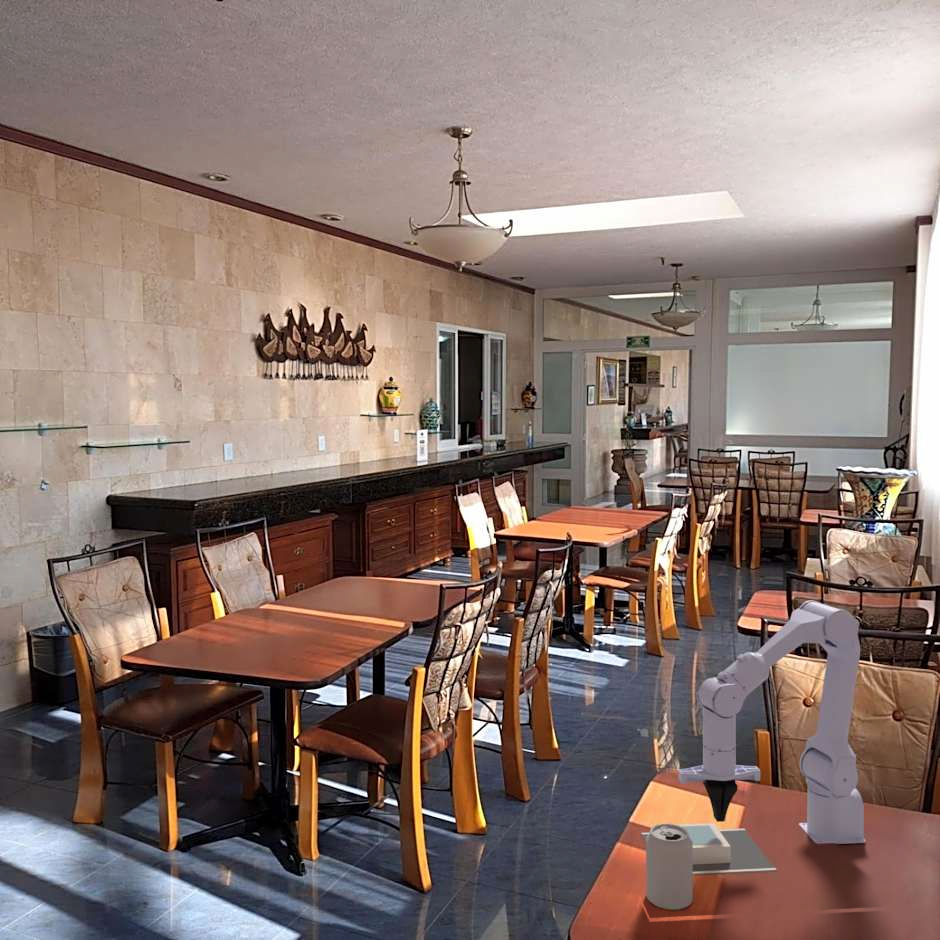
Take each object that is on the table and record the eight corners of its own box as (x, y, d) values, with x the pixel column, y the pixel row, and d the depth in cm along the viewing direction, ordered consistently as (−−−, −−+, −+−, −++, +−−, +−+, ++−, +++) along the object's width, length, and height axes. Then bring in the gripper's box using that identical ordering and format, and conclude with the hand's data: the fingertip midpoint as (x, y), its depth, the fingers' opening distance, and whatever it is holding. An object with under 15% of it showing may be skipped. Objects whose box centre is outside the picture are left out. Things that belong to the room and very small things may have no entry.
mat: (743, 830, 171) (743, 827, 171) (777, 873, 155) (777, 870, 155) (640, 835, 170) (640, 832, 169) (663, 879, 154) (663, 875, 154)
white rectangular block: (713, 822, 167) (674, 824, 166) (730, 845, 158) (688, 847, 157) (713, 838, 167) (674, 840, 166) (730, 862, 158) (688, 864, 157)
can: (666, 919, 142) (666, 845, 141) (636, 896, 148) (636, 826, 147) (702, 906, 145) (702, 835, 144) (672, 885, 152) (671, 816, 151)
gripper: (750, 736, 165) (750, 807, 166) (673, 739, 165) (673, 810, 165) (765, 750, 158) (764, 825, 159) (684, 754, 158) (684, 828, 158)
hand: (719, 819), depth 162 cm, fingers closed
